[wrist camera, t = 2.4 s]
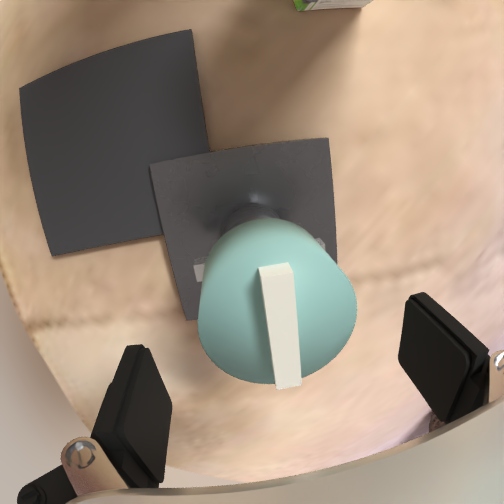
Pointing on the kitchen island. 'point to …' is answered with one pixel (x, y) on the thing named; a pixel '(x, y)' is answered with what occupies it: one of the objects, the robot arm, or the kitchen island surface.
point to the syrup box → (328, 4)
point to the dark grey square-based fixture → (240, 201)
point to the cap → (273, 304)
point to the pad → (110, 139)
